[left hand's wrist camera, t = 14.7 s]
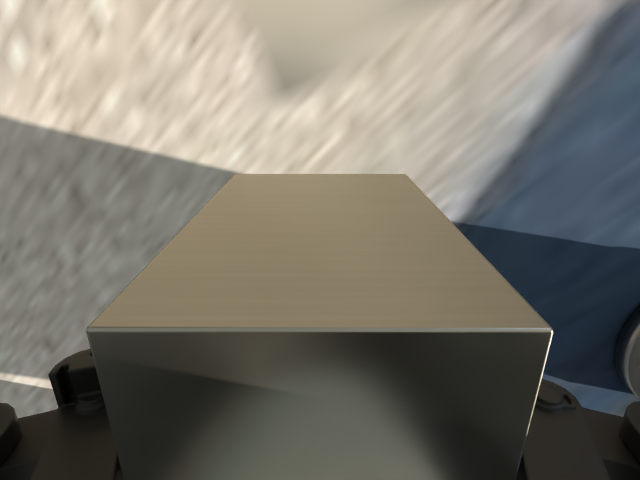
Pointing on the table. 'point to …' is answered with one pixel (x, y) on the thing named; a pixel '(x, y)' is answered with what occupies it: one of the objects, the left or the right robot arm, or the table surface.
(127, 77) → the table surface
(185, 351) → the bar
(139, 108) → the table surface
